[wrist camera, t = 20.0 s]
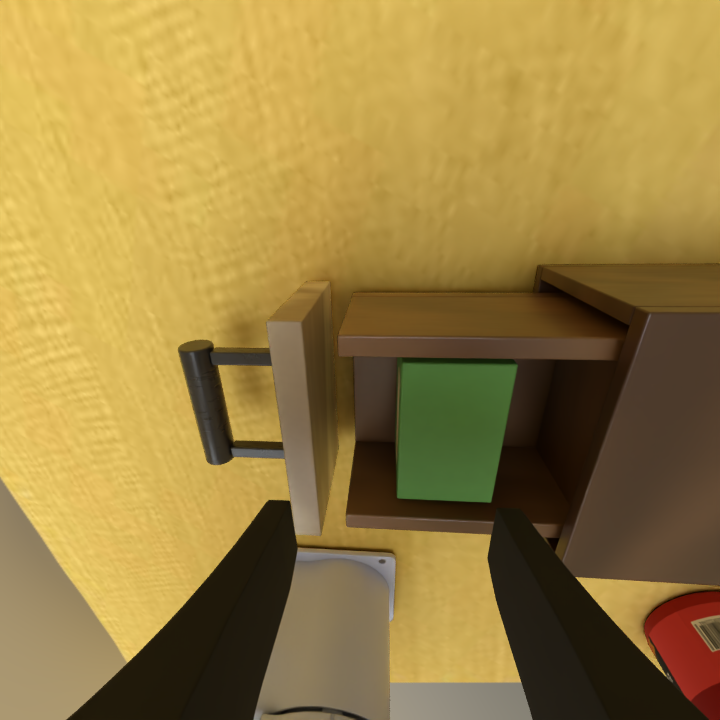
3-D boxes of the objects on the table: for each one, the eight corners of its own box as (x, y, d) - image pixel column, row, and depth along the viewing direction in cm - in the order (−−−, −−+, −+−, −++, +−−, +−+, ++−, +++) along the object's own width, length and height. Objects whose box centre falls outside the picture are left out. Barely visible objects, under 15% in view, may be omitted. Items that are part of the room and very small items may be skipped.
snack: (394, 434, 19) (396, 499, 15) (397, 321, 16) (401, 362, 12) (469, 437, 19) (492, 503, 15) (485, 322, 16) (519, 364, 12)
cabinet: (500, 452, 21) (556, 576, 14) (537, 264, 16) (649, 312, 9) (742, 460, 20) (932, 599, 13) (856, 262, 15) (1247, 315, 8)
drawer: (240, 443, 21) (189, 529, 16) (208, 280, 17) (121, 319, 12) (538, 453, 20) (595, 551, 14) (582, 280, 16) (687, 324, 10)
